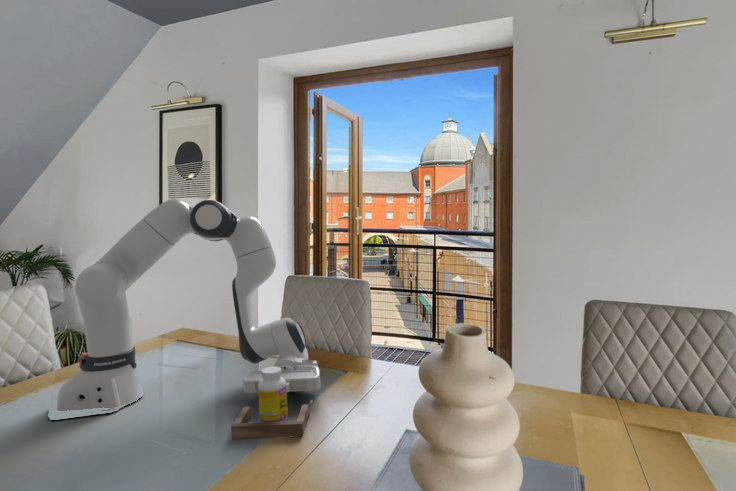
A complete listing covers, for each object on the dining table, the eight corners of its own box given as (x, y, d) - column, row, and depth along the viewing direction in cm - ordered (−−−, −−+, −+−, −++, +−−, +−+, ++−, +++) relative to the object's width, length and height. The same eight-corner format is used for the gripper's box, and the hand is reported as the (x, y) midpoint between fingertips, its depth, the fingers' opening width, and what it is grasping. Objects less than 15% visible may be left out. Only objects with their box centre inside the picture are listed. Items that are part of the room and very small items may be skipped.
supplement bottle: (283, 428, 103) (279, 375, 102) (256, 427, 104) (252, 374, 103) (291, 414, 110) (288, 364, 109) (266, 414, 111) (262, 364, 110)
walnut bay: (244, 418, 109) (243, 406, 109) (309, 416, 109) (308, 404, 109) (231, 439, 99) (231, 426, 99) (302, 436, 99) (302, 423, 99)
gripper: (249, 363, 123) (234, 382, 110) (322, 360, 123) (316, 379, 109) (251, 385, 124) (236, 407, 110) (323, 382, 124) (318, 404, 110)
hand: (277, 393), depth 110 cm, fingers closed, pressing on supplement bottle
